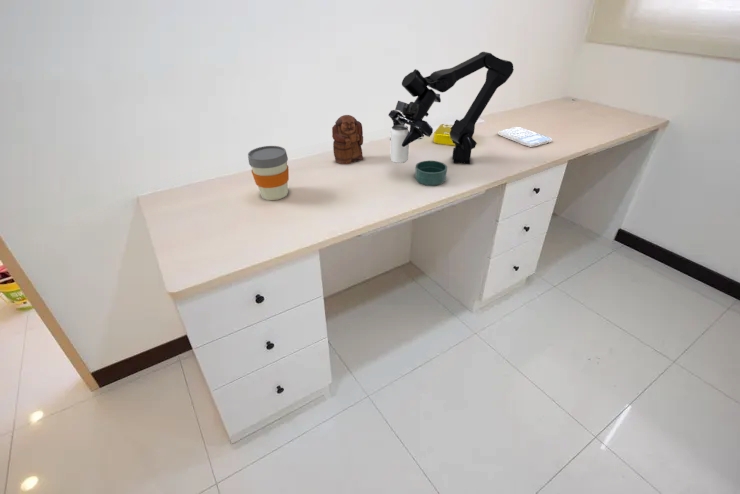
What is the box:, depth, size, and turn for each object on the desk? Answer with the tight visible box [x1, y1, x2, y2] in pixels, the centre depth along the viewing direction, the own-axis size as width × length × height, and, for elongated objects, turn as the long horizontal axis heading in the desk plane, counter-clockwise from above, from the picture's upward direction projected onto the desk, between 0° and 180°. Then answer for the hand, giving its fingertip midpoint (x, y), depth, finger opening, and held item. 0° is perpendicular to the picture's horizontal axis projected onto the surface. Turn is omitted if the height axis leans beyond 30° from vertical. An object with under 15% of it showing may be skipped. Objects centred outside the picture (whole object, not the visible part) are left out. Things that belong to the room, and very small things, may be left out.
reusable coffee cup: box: [247, 145, 290, 201], centre depth 125 cm, size 13×13×15 cm
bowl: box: [414, 160, 448, 187], centre depth 135 cm, size 11×11×5 cm
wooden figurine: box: [331, 114, 364, 165], centre depth 147 cm, size 12×6×18 cm, turn 120°
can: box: [390, 124, 410, 164], centre depth 132 cm, size 6×6×12 cm
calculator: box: [498, 126, 553, 148], centre depth 169 cm, size 13×20×2 cm, turn 29°
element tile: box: [433, 123, 455, 147], centre depth 168 cm, size 15×15×5 cm
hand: (396, 143), depth 132 cm, fingers closed on can, 6 cm apart
